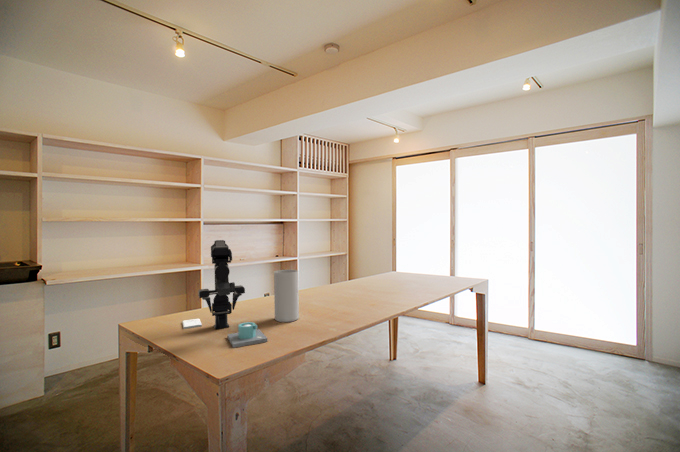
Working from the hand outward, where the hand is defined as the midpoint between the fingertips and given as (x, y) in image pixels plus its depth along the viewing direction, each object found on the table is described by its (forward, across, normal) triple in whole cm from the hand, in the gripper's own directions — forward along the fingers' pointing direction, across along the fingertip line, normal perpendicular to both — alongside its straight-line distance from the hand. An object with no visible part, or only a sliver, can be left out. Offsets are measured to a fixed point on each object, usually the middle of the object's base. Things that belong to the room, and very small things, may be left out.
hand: (222, 311), depth 146 cm
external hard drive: (+13, -10, +30) cm, 34 cm away
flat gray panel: (+12, +9, -7) cm, 17 cm away
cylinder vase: (+12, +34, +14) cm, 39 cm away
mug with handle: (+10, +9, -7) cm, 16 cm away
